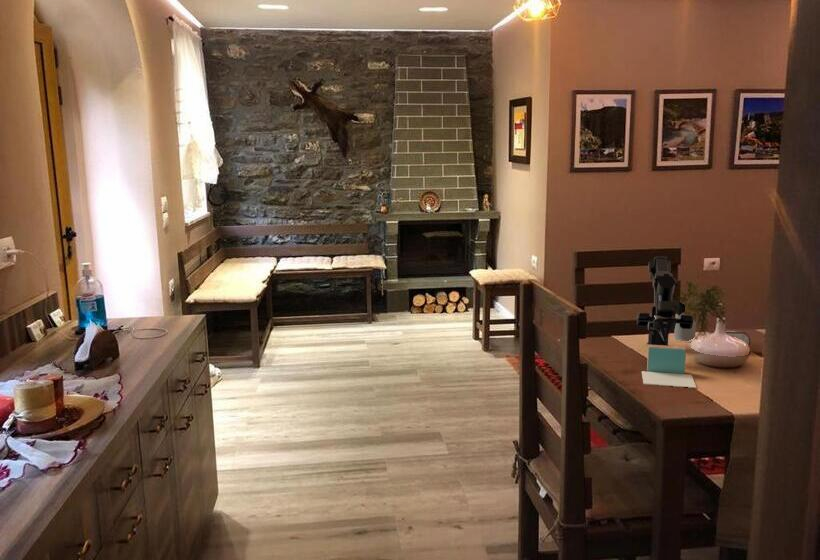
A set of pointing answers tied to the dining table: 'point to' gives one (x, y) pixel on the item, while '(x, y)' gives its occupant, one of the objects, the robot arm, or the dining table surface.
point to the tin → (739, 335)
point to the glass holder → (683, 333)
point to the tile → (666, 359)
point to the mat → (668, 379)
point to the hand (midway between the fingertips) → (665, 340)
